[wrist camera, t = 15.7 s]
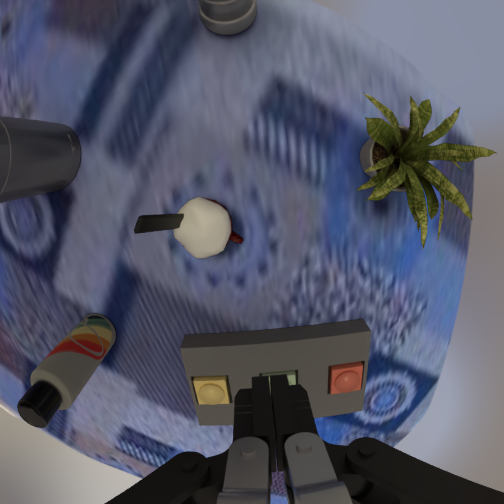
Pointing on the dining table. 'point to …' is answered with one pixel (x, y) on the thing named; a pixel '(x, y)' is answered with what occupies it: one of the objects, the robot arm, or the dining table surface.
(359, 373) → the red button
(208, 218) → the cocoa
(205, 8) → the plastic bottle
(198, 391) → the ochre button
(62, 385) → the lotion bottle
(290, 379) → the sage button
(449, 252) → the dining table surface
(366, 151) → the house plant
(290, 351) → the panel
